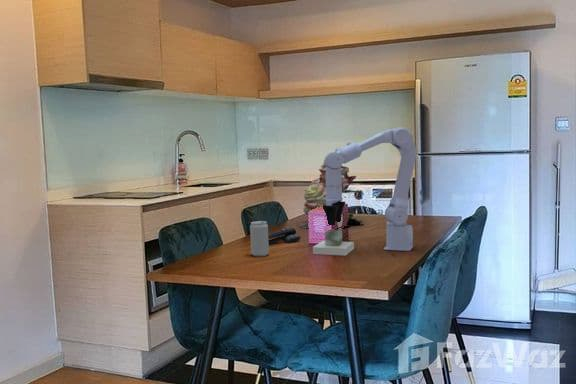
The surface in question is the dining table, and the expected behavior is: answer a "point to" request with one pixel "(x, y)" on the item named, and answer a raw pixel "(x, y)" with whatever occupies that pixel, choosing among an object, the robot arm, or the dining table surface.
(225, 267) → the dining table surface
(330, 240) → the green cube
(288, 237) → the can opener
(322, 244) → the stacking base
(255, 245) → the beverage can
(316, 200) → the rose bouquet
